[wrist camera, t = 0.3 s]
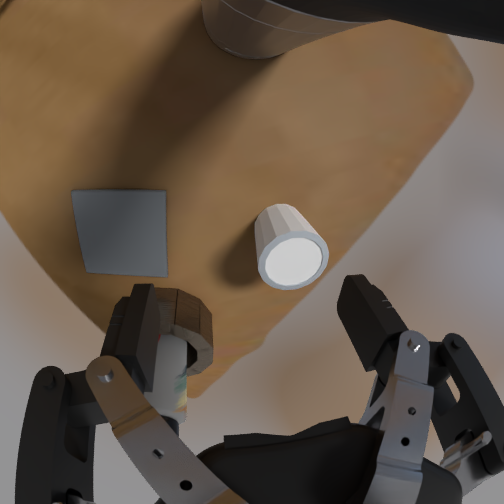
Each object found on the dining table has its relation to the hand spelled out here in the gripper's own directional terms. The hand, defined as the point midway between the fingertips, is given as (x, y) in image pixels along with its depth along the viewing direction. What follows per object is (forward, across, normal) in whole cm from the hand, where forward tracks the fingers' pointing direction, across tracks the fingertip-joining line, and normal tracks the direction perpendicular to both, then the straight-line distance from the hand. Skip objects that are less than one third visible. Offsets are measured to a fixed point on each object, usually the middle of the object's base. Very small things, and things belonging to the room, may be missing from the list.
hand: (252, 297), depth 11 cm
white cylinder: (+19, -6, +6) cm, 21 cm away
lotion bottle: (+20, +8, +21) cm, 30 cm away
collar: (+19, +8, +21) cm, 30 cm away
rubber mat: (+19, +12, +7) cm, 23 cm away
